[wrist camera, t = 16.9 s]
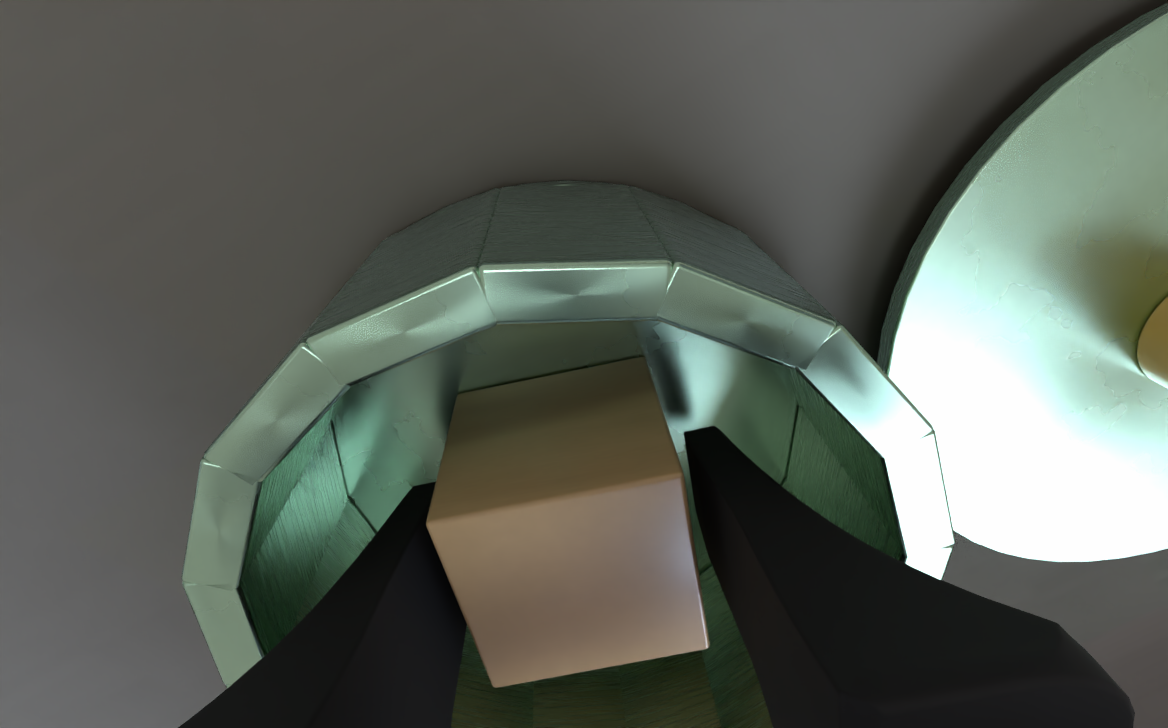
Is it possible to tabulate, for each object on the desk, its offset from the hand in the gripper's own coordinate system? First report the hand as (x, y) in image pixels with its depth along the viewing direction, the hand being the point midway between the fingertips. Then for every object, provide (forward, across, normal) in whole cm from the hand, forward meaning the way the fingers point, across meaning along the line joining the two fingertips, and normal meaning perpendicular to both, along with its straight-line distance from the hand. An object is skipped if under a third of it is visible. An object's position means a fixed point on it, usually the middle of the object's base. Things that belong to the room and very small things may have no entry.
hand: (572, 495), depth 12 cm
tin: (+2, 0, 0) cm, 2 cm away
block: (+2, 0, 0) cm, 2 cm away
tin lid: (+1, -13, 0) cm, 13 cm away
